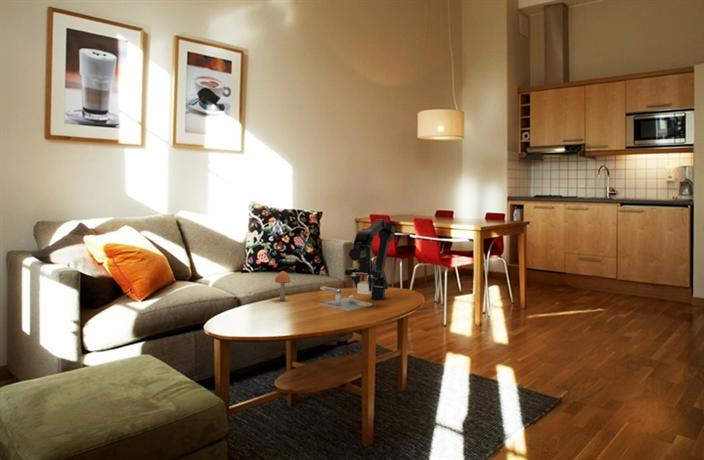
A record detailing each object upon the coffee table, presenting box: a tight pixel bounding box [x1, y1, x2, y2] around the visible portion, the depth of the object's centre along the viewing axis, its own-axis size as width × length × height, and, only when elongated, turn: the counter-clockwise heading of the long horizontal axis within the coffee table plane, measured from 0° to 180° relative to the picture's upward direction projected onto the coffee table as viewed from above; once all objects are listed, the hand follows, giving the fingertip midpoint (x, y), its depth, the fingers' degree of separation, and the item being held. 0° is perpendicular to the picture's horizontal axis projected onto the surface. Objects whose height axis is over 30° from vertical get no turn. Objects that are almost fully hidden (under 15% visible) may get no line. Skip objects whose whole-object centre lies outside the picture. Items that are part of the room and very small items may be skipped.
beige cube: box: [356, 280, 372, 295], centre depth 239 cm, size 5×5×5 cm
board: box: [318, 292, 376, 312], centre depth 240 cm, size 19×20×7 cm
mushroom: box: [274, 270, 292, 302], centre depth 252 cm, size 8×8×15 cm
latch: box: [320, 286, 343, 294], centre depth 240 cm, size 12×4×1 cm, turn 49°
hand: (364, 291), depth 239 cm, fingers closed on beige cube, 6 cm apart
